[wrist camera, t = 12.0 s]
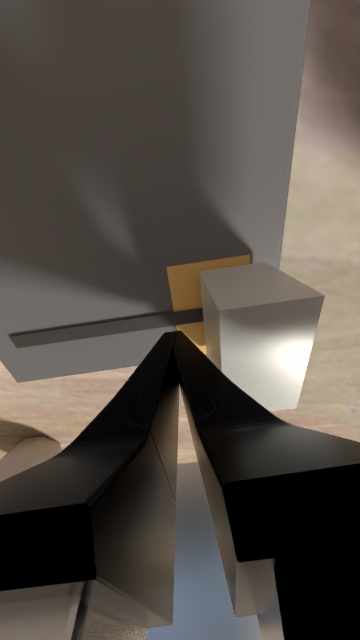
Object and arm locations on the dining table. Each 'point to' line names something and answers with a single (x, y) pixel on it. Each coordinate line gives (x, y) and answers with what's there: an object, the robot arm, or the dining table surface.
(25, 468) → the salt shaker
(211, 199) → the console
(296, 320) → the block
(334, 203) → the dining table surface
